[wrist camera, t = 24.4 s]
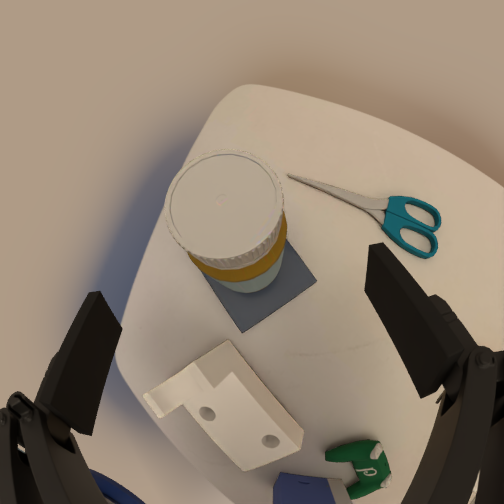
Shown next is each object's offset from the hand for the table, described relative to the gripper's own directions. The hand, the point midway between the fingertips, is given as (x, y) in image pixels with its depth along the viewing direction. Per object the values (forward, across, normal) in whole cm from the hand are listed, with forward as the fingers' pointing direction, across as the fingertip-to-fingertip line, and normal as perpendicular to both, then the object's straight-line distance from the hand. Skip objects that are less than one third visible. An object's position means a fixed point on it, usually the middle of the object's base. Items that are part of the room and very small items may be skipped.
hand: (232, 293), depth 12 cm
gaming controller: (-4, +8, -26) cm, 28 cm away
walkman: (-5, +3, -28) cm, 28 cm away
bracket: (+4, -4, -19) cm, 20 cm away
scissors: (+17, +15, -5) cm, 23 cm away
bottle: (+14, 0, -7) cm, 16 cm away
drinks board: (+14, 0, -8) cm, 16 cm away
